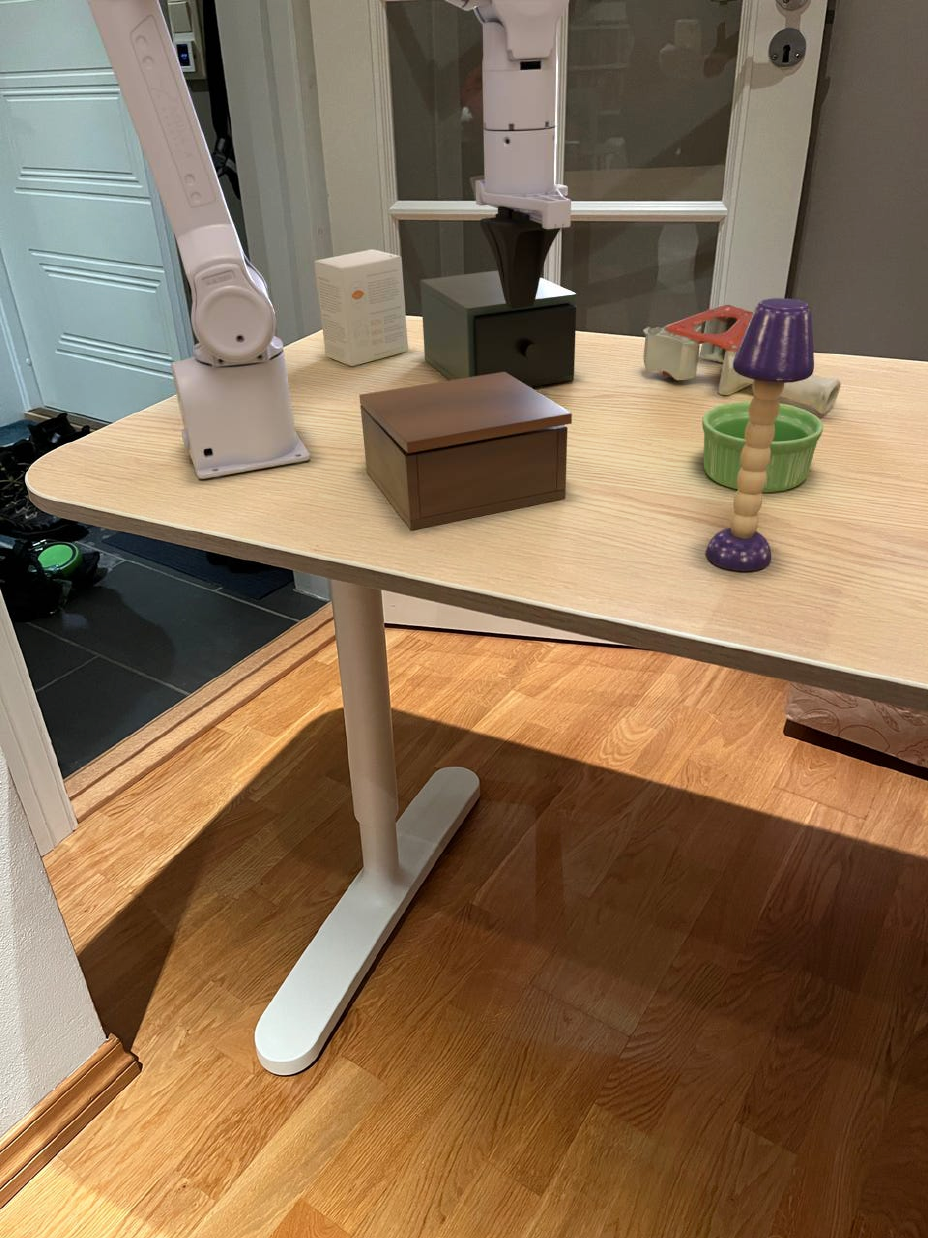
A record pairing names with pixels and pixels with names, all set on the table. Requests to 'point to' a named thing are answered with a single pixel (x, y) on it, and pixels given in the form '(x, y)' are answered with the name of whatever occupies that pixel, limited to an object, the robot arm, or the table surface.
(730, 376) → the tape dispenser
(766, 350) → the toy lamp
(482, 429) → the box lid
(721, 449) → the ramekin
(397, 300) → the small box
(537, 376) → the drawer
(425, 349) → the cabinet
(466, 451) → the box
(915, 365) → the table surface
